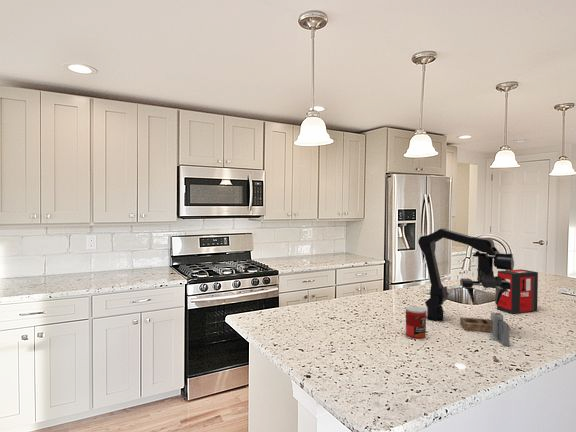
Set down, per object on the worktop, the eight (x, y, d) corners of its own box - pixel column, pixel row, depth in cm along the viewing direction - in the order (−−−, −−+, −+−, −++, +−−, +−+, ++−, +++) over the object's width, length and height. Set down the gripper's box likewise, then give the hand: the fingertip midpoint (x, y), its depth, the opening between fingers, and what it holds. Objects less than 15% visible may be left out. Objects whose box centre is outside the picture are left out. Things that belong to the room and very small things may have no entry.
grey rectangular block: (503, 346, 136) (503, 325, 136) (498, 341, 141) (498, 320, 141) (509, 346, 136) (509, 325, 136) (504, 341, 141) (504, 321, 141)
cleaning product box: (512, 314, 177) (513, 274, 176) (497, 309, 185) (497, 271, 185) (537, 311, 182) (537, 272, 182) (520, 307, 191) (521, 269, 190)
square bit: (493, 340, 142) (493, 314, 142) (490, 337, 146) (490, 312, 146) (502, 340, 142) (503, 315, 141) (499, 337, 145) (500, 313, 145)
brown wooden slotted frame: (464, 330, 153) (464, 323, 153) (460, 324, 162) (460, 317, 162) (496, 333, 150) (496, 325, 150) (489, 326, 159) (489, 319, 159)
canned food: (416, 340, 142) (416, 312, 142) (401, 334, 149) (401, 307, 149) (430, 337, 145) (430, 310, 145) (414, 331, 153) (415, 305, 152)
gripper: (466, 269, 149) (465, 307, 150) (516, 271, 145) (515, 310, 145) (460, 265, 160) (459, 300, 161) (506, 267, 156) (506, 303, 156)
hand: (484, 303), depth 155 cm, fingers open, 9 cm apart
